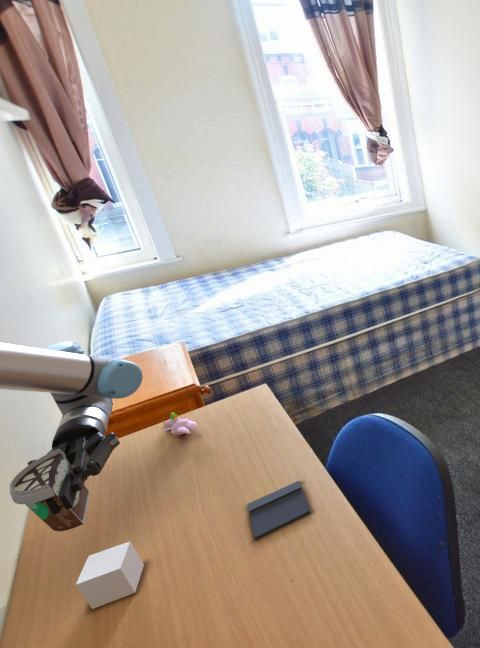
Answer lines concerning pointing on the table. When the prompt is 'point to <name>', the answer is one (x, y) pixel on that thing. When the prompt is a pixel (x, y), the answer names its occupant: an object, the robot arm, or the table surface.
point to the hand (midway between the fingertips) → (59, 504)
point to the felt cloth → (277, 509)
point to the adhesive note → (110, 575)
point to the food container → (49, 491)
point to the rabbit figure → (179, 425)
